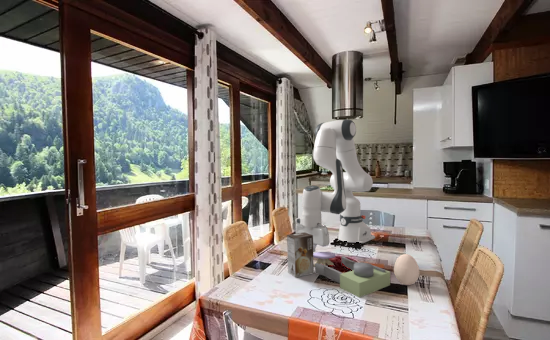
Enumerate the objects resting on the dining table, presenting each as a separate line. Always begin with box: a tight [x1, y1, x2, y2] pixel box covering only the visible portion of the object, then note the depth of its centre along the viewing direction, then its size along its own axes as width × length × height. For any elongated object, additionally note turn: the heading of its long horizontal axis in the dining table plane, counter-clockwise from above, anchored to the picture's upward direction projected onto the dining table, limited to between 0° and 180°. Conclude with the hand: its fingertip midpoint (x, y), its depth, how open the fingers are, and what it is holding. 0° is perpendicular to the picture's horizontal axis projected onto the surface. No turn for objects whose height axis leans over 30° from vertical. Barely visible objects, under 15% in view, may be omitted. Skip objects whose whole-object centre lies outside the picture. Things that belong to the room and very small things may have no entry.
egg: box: [393, 253, 420, 286], centre depth 109 cm, size 9×9×12 cm
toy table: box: [313, 251, 336, 268], centre depth 127 cm, size 10×9×6 cm
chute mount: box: [314, 255, 358, 284], centre depth 118 cm, size 17×16×4 cm
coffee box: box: [286, 232, 315, 278], centre depth 120 cm, size 9×6×16 cm
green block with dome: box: [339, 261, 391, 298], centre depth 107 cm, size 17×9×8 cm, turn 123°
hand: (311, 251), depth 134 cm, fingers closed
